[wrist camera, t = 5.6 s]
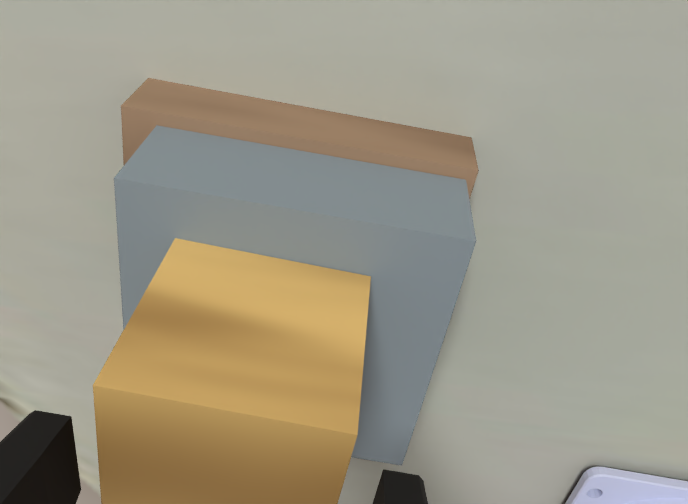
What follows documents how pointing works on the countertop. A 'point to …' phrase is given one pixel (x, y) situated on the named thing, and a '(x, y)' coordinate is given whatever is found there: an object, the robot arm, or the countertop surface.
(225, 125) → the tower base
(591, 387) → the countertop surface
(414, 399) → the tower top
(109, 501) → the ochre cube
